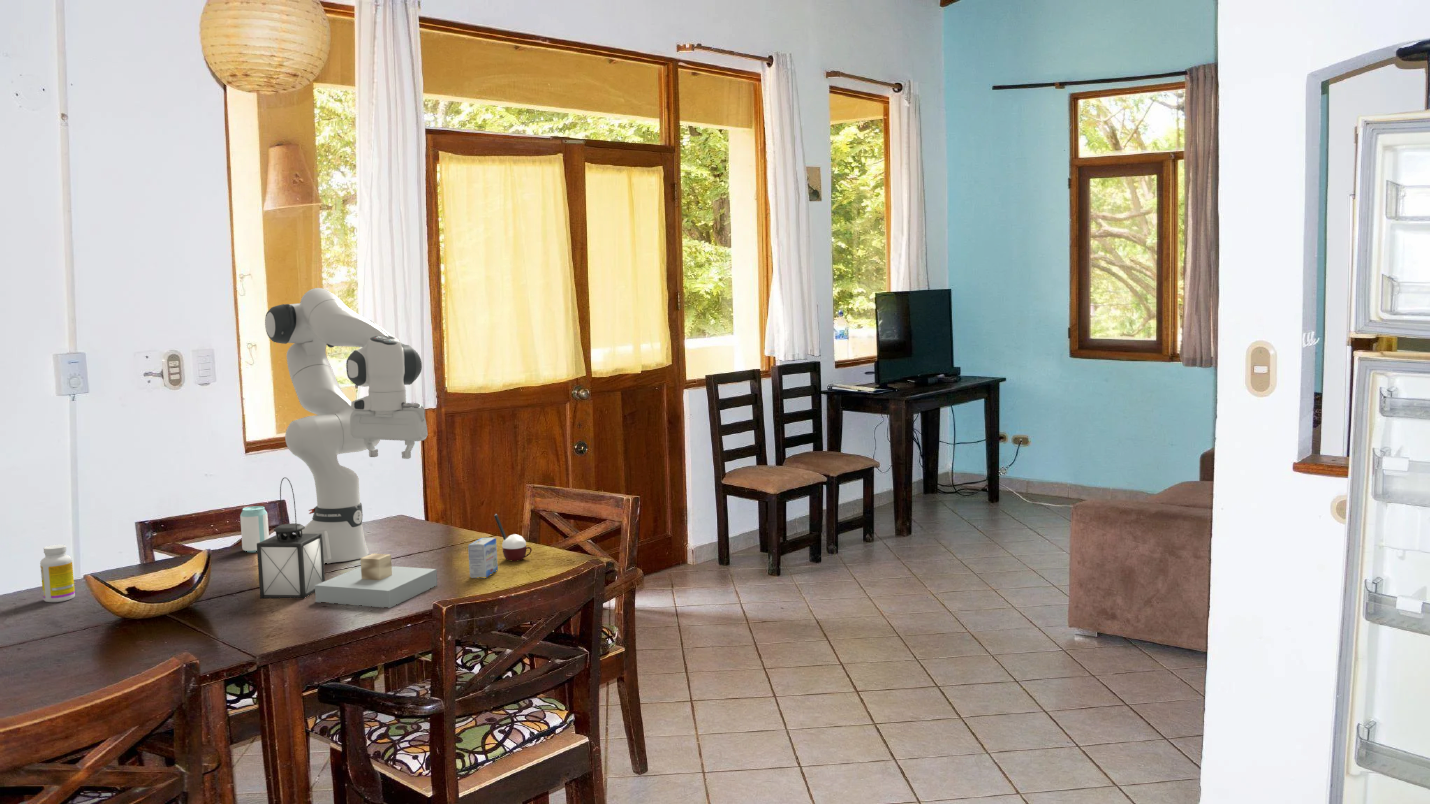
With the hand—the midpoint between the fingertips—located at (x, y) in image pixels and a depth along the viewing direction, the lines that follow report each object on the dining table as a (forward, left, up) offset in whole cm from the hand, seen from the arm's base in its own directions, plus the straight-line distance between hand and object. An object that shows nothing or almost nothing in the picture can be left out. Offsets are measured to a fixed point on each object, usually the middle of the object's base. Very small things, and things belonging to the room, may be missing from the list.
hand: (390, 457), depth 286 cm
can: (-57, +17, -31) cm, 67 cm away
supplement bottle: (-69, -37, -31) cm, 84 cm away
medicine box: (+20, +8, -31) cm, 38 cm away
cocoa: (+20, +24, -31) cm, 44 cm away
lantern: (-17, -18, -31) cm, 39 cm away
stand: (+4, -14, -31) cm, 34 cm away
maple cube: (+4, -14, -27) cm, 30 cm away
